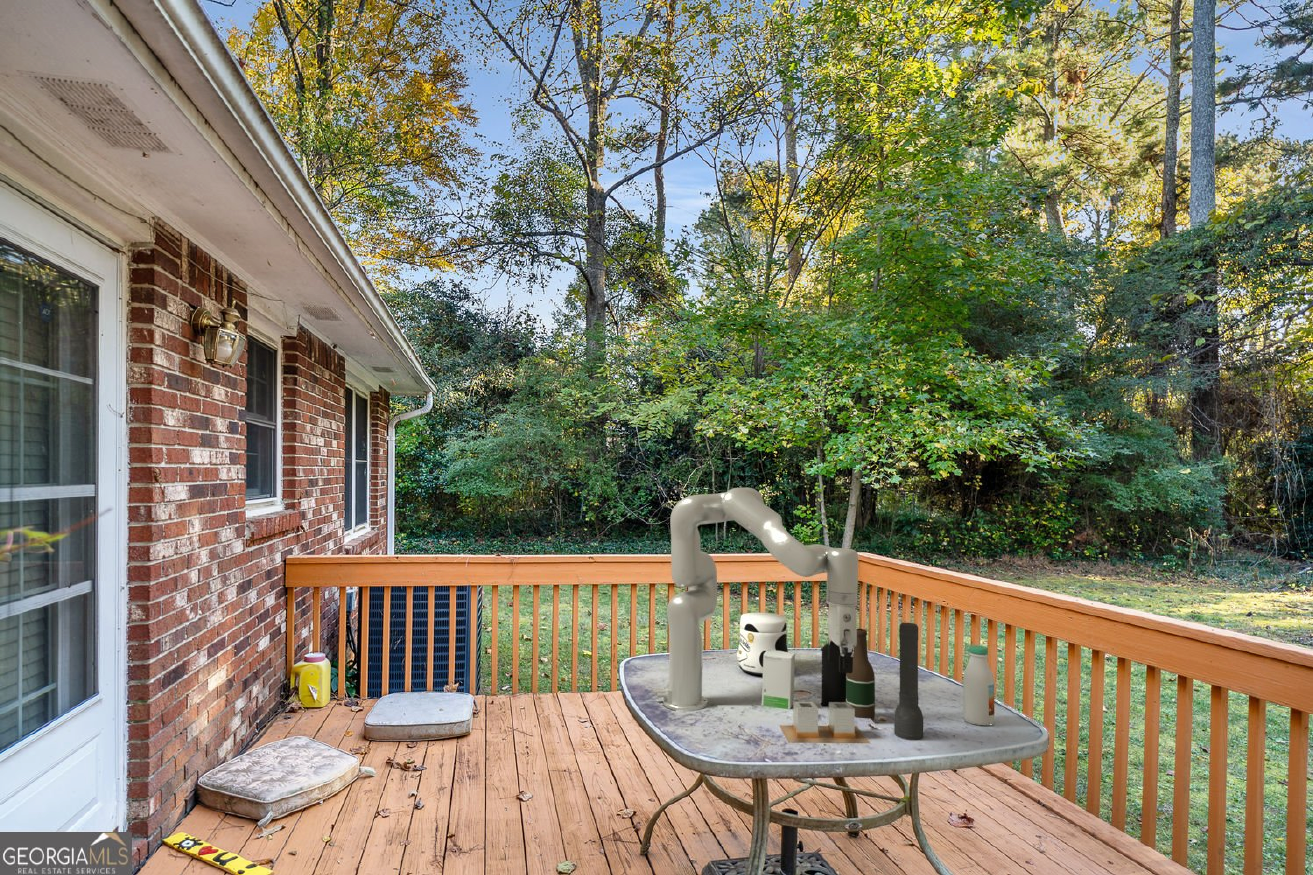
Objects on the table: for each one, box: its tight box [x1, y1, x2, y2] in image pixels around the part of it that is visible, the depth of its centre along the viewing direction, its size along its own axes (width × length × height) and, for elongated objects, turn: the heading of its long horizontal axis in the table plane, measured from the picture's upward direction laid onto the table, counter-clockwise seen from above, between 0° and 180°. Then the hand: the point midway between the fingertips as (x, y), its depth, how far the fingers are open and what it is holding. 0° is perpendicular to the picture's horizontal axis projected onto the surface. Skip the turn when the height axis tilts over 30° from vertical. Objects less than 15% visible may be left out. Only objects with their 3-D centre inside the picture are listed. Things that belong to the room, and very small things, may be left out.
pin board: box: [779, 724, 871, 744], centre depth 171 cm, size 20×11×6 cm, turn 91°
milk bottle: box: [962, 644, 996, 726], centre depth 186 cm, size 8×8×20 cm
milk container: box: [736, 611, 789, 676], centre depth 229 cm, size 17×17×18 cm
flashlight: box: [893, 622, 924, 741], centre depth 176 cm, size 7×28×7 cm
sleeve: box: [827, 702, 856, 738], centre depth 171 cm, size 5×5×7 cm
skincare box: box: [761, 649, 796, 710], centre depth 193 cm, size 8×7×16 cm
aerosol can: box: [820, 642, 846, 708], centre depth 197 cm, size 8×8×20 cm
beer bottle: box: [846, 628, 876, 722], centre depth 187 cm, size 8×8×24 cm
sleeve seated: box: [792, 701, 819, 738], centre depth 171 cm, size 5×5×7 cm
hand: (839, 666), depth 172 cm, fingers open, 9 cm apart
